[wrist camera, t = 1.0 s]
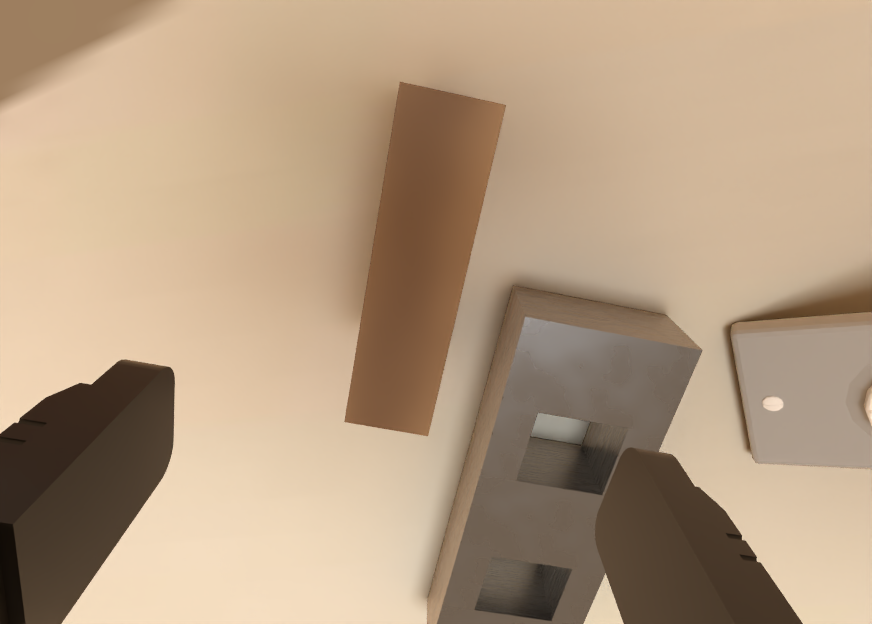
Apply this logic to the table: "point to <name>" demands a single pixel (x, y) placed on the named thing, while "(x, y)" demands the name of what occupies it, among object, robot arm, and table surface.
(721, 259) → the table surface
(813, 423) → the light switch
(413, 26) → the table surface
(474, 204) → the brown u-shaped block
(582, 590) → the grey slotted holder
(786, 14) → the table surface
